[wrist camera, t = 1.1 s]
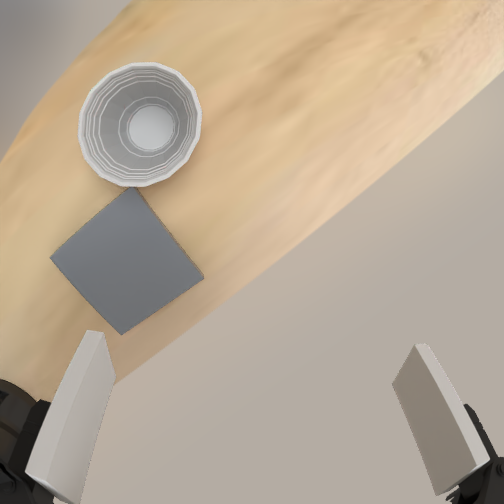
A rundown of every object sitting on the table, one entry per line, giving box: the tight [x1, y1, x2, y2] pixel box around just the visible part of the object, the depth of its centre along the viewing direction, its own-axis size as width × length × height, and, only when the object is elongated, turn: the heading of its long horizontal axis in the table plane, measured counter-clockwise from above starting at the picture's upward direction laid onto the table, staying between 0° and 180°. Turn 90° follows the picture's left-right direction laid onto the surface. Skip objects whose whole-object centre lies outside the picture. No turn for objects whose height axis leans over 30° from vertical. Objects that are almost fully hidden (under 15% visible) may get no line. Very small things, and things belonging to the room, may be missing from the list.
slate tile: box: [50, 187, 204, 335], centre depth 37 cm, size 15×15×1 cm
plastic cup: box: [78, 62, 202, 187], centre depth 27 cm, size 11×11×12 cm
